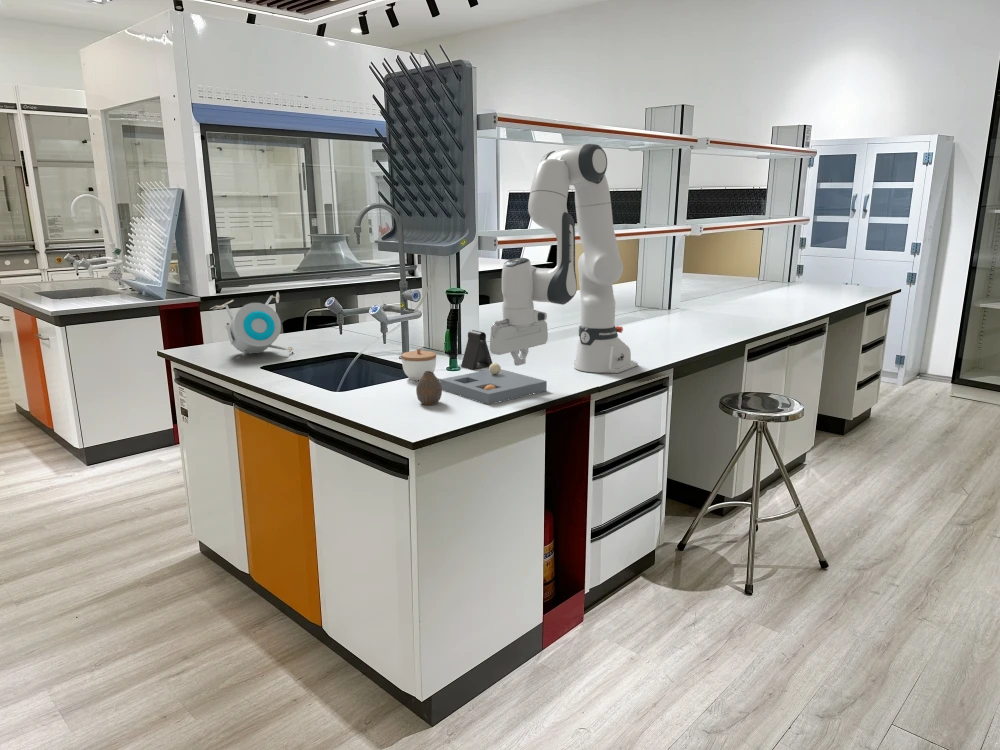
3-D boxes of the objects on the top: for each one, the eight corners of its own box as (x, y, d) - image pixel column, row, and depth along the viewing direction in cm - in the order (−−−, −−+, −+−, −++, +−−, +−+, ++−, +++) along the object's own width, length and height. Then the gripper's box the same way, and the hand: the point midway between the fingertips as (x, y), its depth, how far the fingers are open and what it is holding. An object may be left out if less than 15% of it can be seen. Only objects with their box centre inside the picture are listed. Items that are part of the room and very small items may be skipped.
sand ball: (495, 372, 211) (495, 361, 210) (503, 374, 208) (503, 363, 208) (486, 374, 209) (486, 363, 208) (494, 376, 206) (494, 364, 205)
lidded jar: (431, 373, 223) (430, 344, 221) (441, 380, 213) (440, 350, 211) (398, 376, 219) (397, 347, 217) (407, 384, 210) (406, 353, 207)
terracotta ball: (491, 393, 198) (490, 381, 197) (499, 395, 195) (498, 384, 194) (482, 397, 196) (480, 385, 195) (490, 399, 193) (488, 388, 192)
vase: (443, 399, 192) (443, 369, 190) (440, 406, 185) (439, 375, 183) (419, 399, 193) (418, 368, 191) (414, 406, 186) (413, 374, 184)
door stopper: (481, 363, 237) (481, 328, 235) (493, 366, 233) (493, 331, 230) (461, 367, 232) (460, 331, 229) (472, 370, 227) (471, 334, 224)
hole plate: (497, 377, 217) (496, 368, 217) (546, 391, 201) (546, 381, 201) (440, 389, 203) (440, 379, 203) (488, 404, 187) (488, 394, 187)
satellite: (271, 301, 264) (202, 312, 251) (284, 286, 248) (211, 296, 234) (287, 358, 263) (219, 372, 250) (301, 346, 247) (229, 360, 233)
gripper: (499, 323, 187) (501, 373, 190) (550, 313, 200) (551, 359, 203) (483, 321, 191) (485, 369, 194) (535, 311, 205) (536, 356, 208)
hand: (520, 364), depth 199 cm, fingers closed
